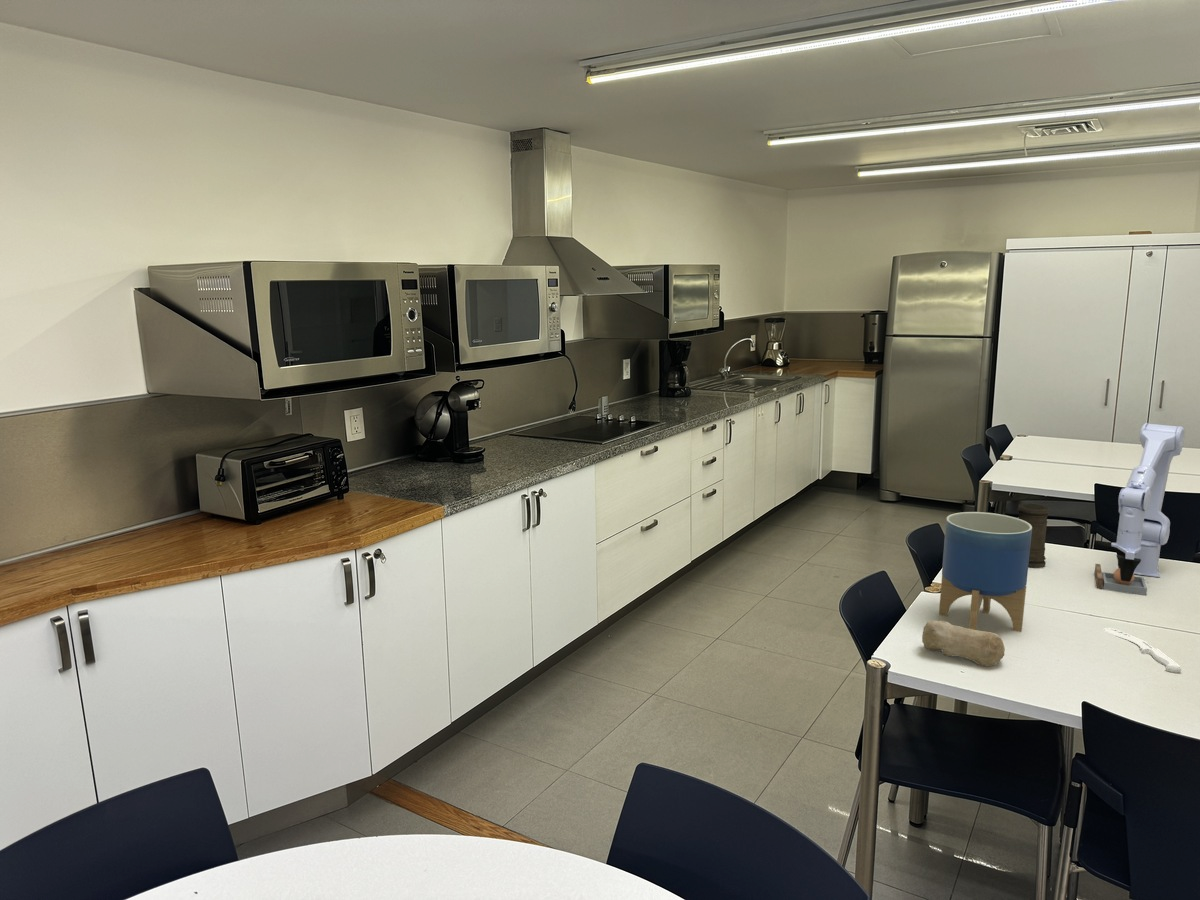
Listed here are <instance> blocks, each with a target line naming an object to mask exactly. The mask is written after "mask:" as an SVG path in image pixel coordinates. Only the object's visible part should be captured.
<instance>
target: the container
mask: <svg viewBox="0 0 1200 900" xmlns="http://www.w3.org/2000/svg"><path fill="white" fill-rule="evenodd" d="M1017 507H1018V517H1017V518H1018V519H1021V520H1023V521H1026V522H1028V523H1029V524H1030V525H1031V526H1032V535H1031V544H1030V554H1029V564H1028V569H1032V568H1033V569H1040V568H1045V566H1046V563H1047V562H1046V561H1045V560H1046V559H1047V558H1046V556H1045V552H1046V535H1047V527H1048V526H1047V525H1048V516H1049V512H1050V508H1049V507H1048V506H1046V505H1042V504H1036V503H1021V504H1019V505H1018V506H1017Z"/></svg>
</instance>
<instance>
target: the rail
mask: <svg viewBox="0 0 1200 900" xmlns="http://www.w3.org/2000/svg"><path fill="white" fill-rule="evenodd" d="M1102 572H1103V571H1102V566H1101V564H1100V563H1095V565H1094V574H1093V575H1094V579H1095V584H1096V585H1095V586H1096V589H1098V590H1102V589H1103V576H1102Z"/></svg>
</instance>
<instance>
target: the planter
mask: <svg viewBox="0 0 1200 900" xmlns="http://www.w3.org/2000/svg"><path fill="white" fill-rule="evenodd" d="M1018 518H1019V517H1014V516H1010V515H1006V514H999V513H993V512H983V511H982V512H981V511H963V512H956V513H952V514H951V513H950V514H949V515H947V516H946V519H945V528H944V529H945V530H944V543H943V555H942V566H941V567H942V568H941V584H940V585H941V586H940V599H939V608H938V609H939V610H938V615H939V616H944V617H947V616H948V615H949V610H950V607H951V606H952V604H953V603H954V602H955V601H956V600H958V599H960V598H962V597H966V596H971V600H970V612H969V621H968V622H969V623H968V624H969V625H968V629H973V630H977V625H978V619H979V614H980V609H981V606H982V613H986V614H989V613H990V610H991V602H992V600H993V601H995V602H996V603H998V604H999V605H1001V606H1002V608H1004V609H1005V610H1006V612H1007V613H1008V615H1009V617H1010V619H1011V623H1012V631H1013V632H1018V633H1021V632H1022V631H1023V625H1024V624H1023V621H1024V613H1025V605H1026V593H1027V582H1028V571H1029V567H1028V564H1029V554H1030V544H1031V535H1032V526H1031V525H1030V524H1029V523H1028V522H1026V521H1023V520H1021V519H1018ZM982 603H983V605H982Z"/></svg>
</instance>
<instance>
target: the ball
mask: <svg viewBox="0 0 1200 900" xmlns="http://www.w3.org/2000/svg"><path fill="white" fill-rule="evenodd" d="M1113 573H1114V574H1113V576H1114V579H1115V581H1116V582H1117V583H1119V584H1122V585H1129V584H1131V583H1132V582H1133V581H1134V576H1135V574H1134V573H1133V576H1132V578H1131V581H1130V582H1128V581H1122V580H1121V576H1120V568H1116V569H1115V570H1114V571H1113Z"/></svg>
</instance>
